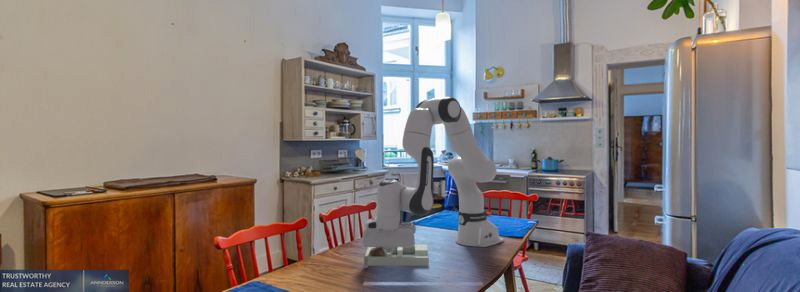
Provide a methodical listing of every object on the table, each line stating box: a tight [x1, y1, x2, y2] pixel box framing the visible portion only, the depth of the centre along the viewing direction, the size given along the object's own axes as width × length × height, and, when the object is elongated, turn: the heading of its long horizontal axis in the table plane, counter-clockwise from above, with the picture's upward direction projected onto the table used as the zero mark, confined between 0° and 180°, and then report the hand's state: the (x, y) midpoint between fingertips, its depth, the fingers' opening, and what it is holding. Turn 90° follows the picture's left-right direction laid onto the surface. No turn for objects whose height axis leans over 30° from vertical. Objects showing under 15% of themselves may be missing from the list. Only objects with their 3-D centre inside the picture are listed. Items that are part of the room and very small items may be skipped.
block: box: [370, 247, 385, 256], centre depth 149 cm, size 4×4×4 cm
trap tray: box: [363, 244, 430, 269], centre depth 152 cm, size 24×17×4 cm
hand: (388, 258), depth 148 cm, fingers closed
